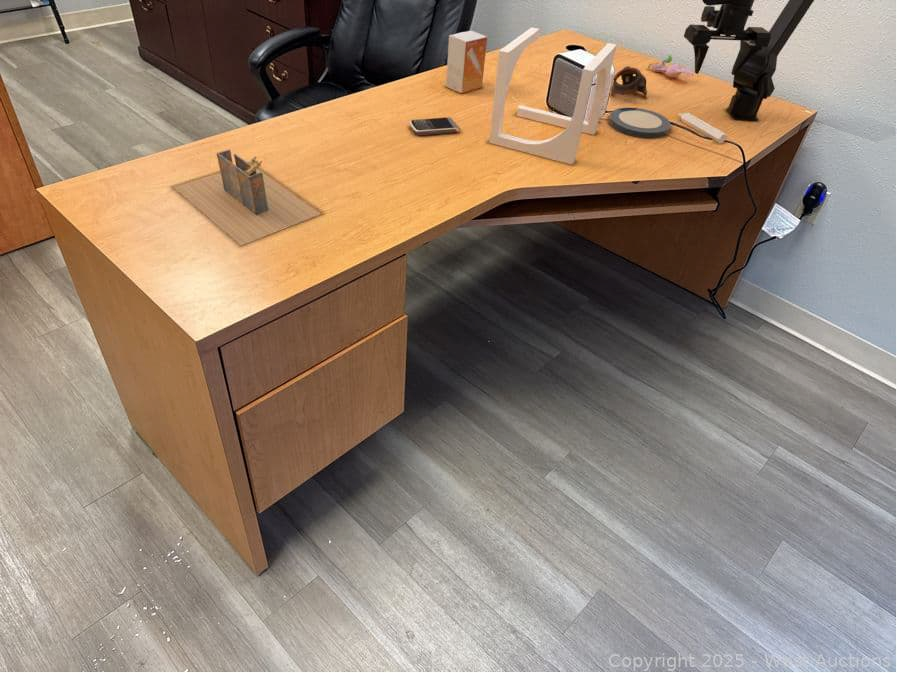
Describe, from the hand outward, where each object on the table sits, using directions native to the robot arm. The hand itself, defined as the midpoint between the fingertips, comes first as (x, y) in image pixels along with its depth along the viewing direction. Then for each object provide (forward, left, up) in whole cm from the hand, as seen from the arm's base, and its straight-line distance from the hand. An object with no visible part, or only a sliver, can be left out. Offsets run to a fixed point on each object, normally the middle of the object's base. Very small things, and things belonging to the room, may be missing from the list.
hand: (714, 73), depth 144 cm
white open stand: (+41, +14, -13) cm, 45 cm away
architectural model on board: (+101, +51, -13) cm, 114 cm away
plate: (+16, +3, -13) cm, 20 cm away
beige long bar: (+1, +3, -13) cm, 13 cm away
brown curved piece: (+15, -17, -13) cm, 26 cm away
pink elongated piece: (-1, -34, -13) cm, 36 cm away
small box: (+60, -14, -13) cm, 63 cm away
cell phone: (+67, +14, -13) cm, 69 cm away
